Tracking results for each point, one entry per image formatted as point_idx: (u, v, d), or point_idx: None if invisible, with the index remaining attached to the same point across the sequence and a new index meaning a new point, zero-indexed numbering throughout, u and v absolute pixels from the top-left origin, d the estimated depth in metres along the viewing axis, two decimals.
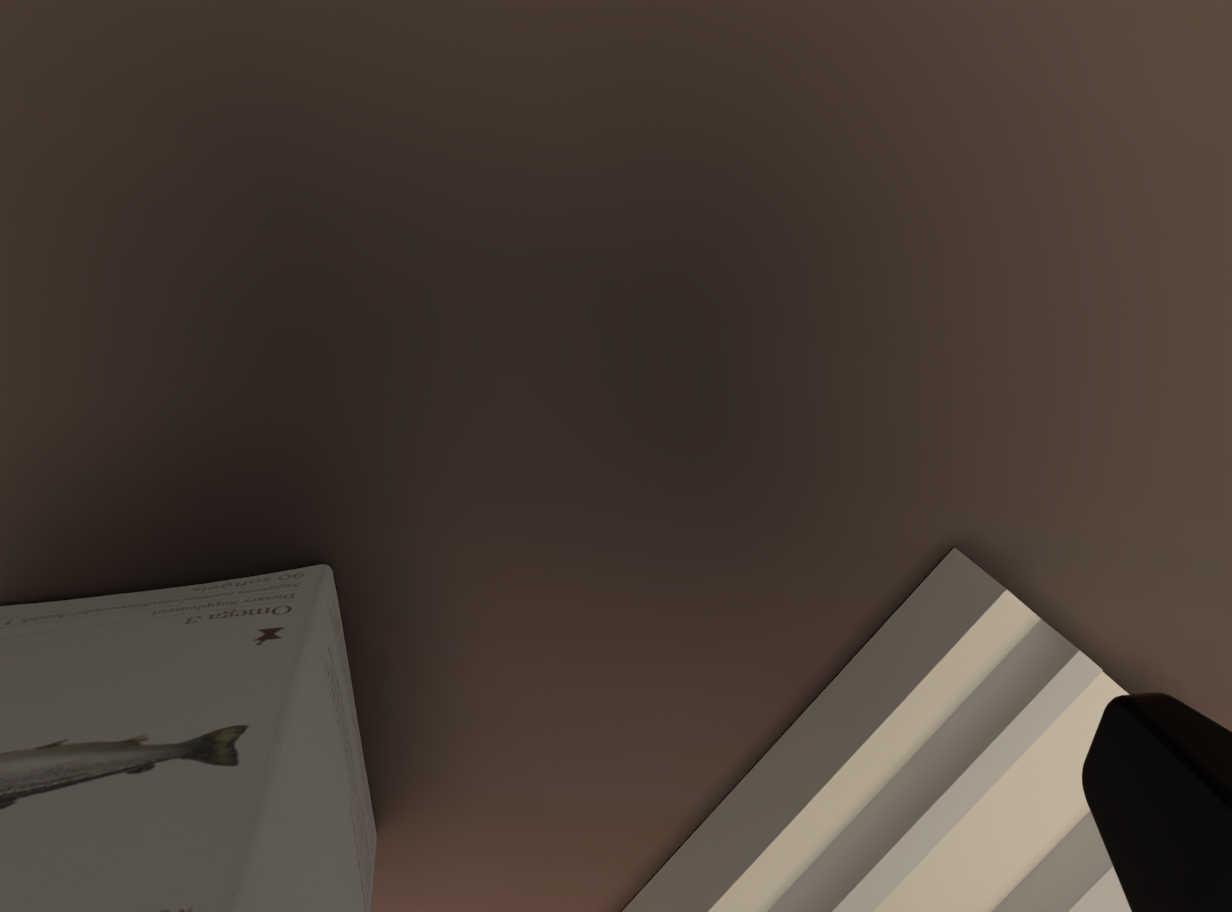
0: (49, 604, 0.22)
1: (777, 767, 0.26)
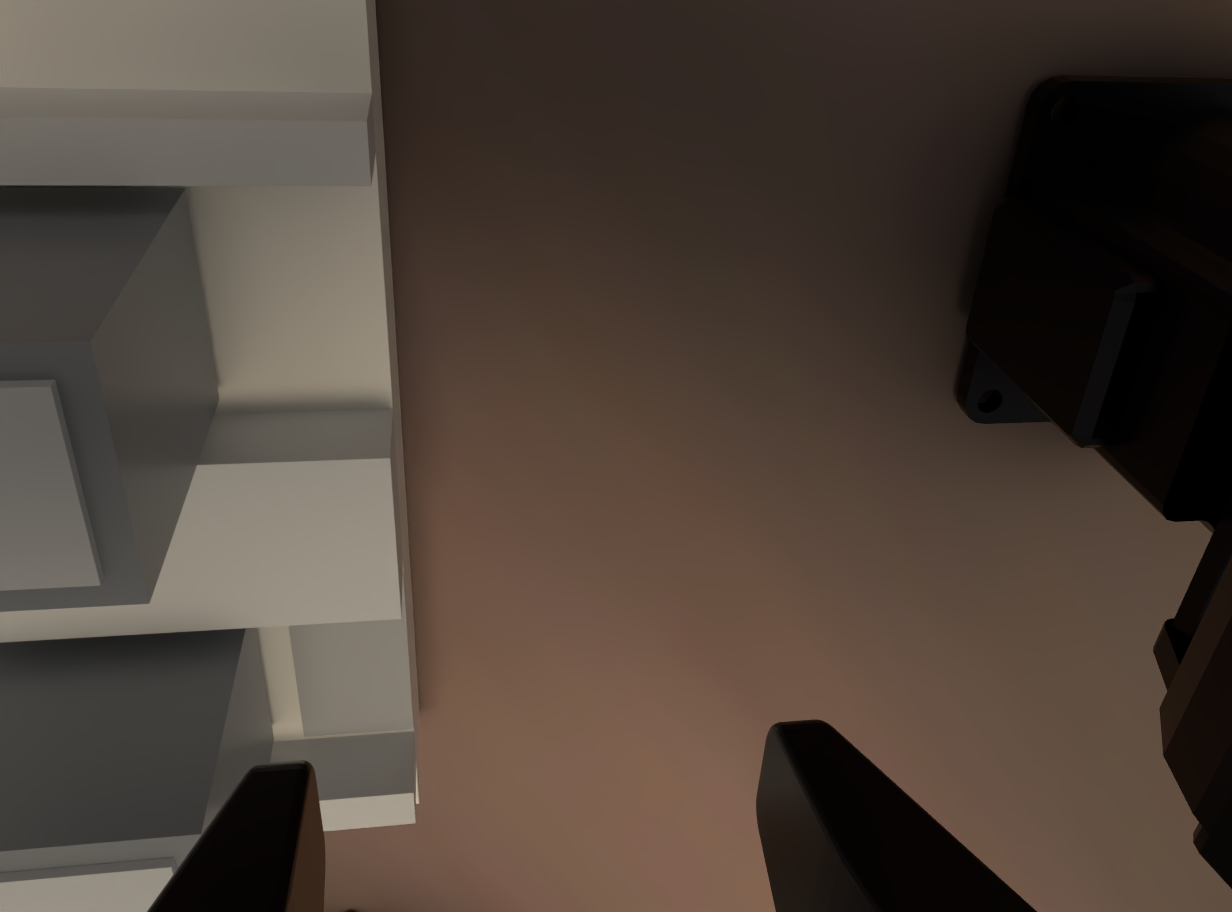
0: None
1: None
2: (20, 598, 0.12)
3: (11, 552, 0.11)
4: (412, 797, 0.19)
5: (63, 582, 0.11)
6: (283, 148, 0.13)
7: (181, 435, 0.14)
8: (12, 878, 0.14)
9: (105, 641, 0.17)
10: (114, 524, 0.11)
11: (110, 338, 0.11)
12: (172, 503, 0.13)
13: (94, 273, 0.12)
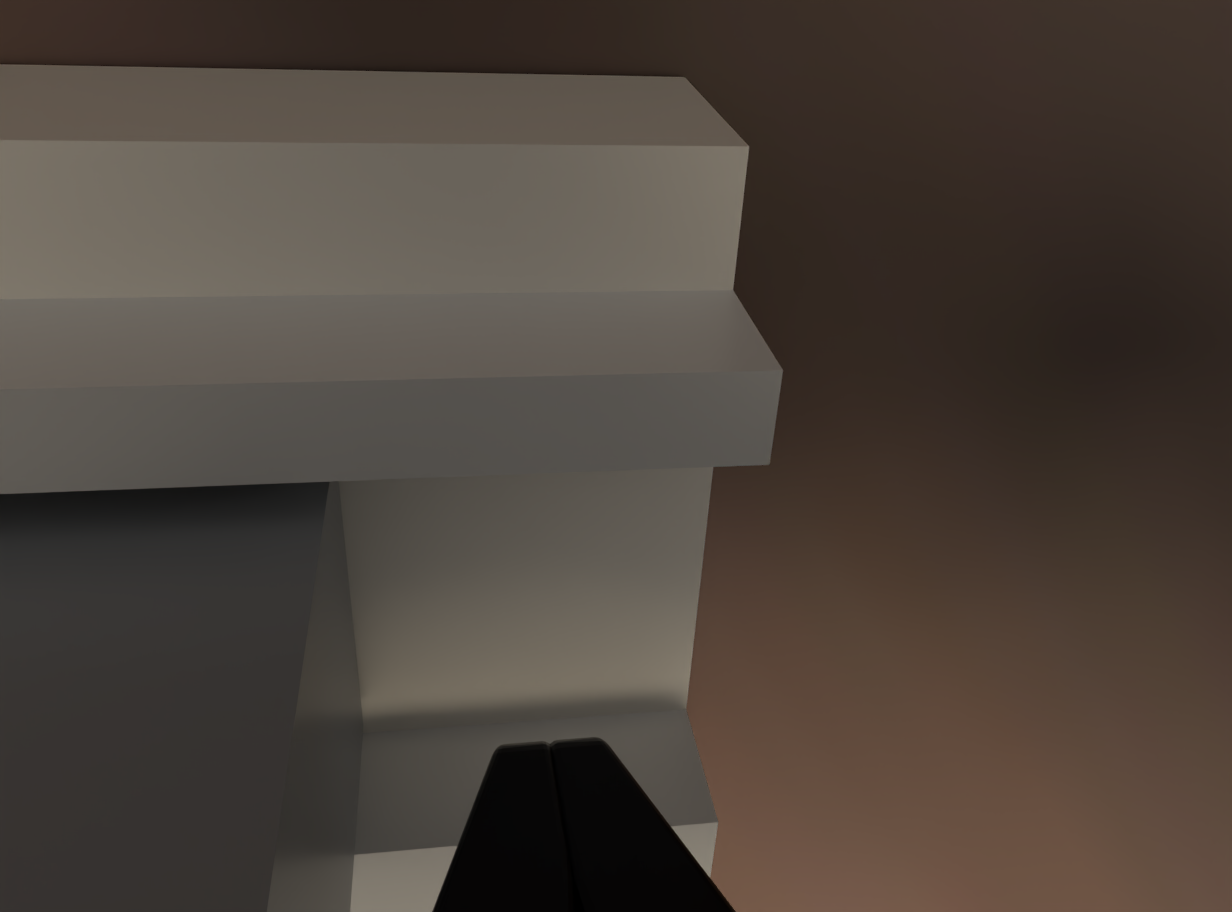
0: None
1: None
2: None
3: None
4: None
5: None
6: (641, 415, 0.08)
7: (339, 877, 0.08)
8: None
9: None
10: None
11: (276, 910, 0.05)
12: None
13: (226, 712, 0.06)
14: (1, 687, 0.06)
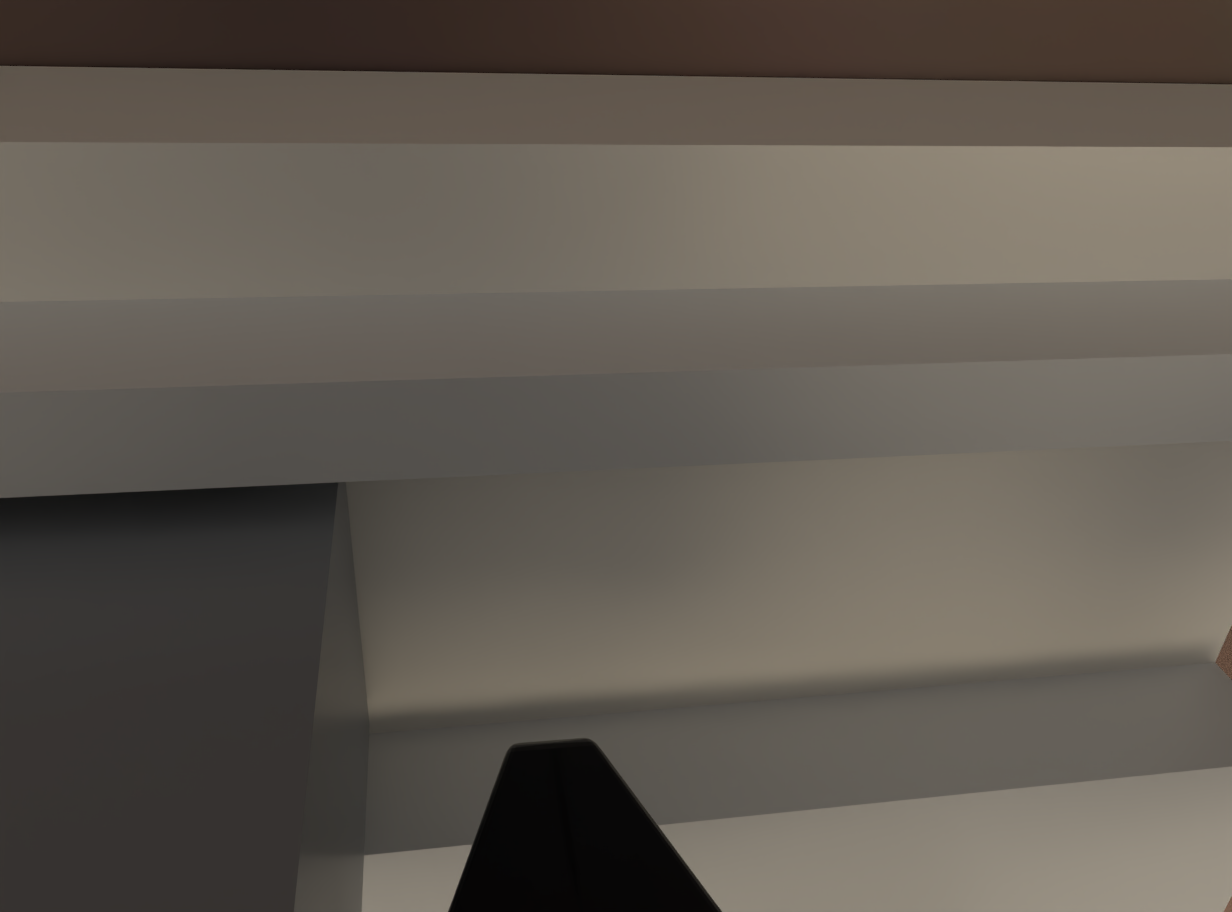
0: None
1: None
2: None
3: None
4: None
5: None
6: None
7: (352, 877, 0.08)
8: None
9: None
10: None
11: None
12: None
13: (246, 714, 0.06)
14: (17, 691, 0.06)
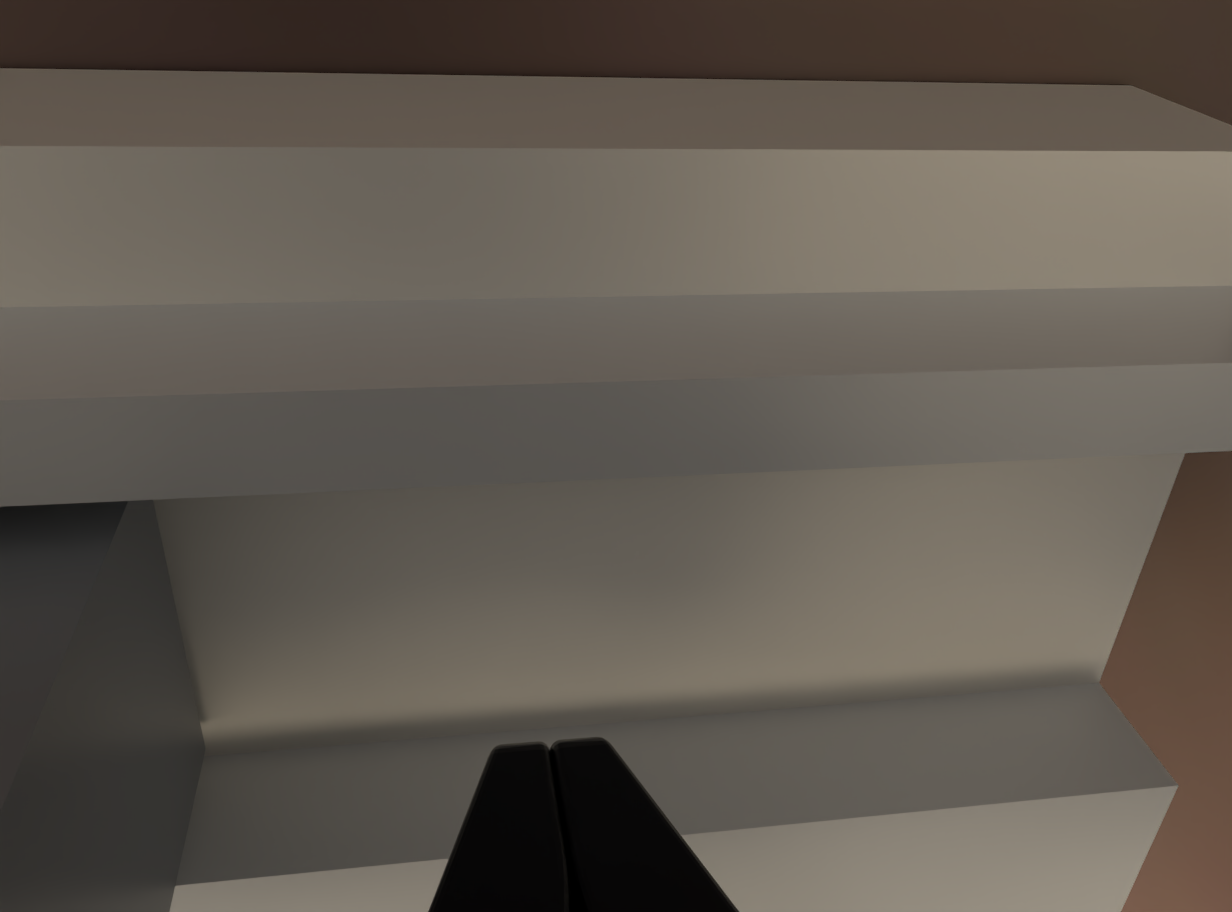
0: None
1: None
2: None
3: None
4: None
5: None
6: None
7: None
8: None
9: None
10: None
11: None
12: None
13: None
14: None
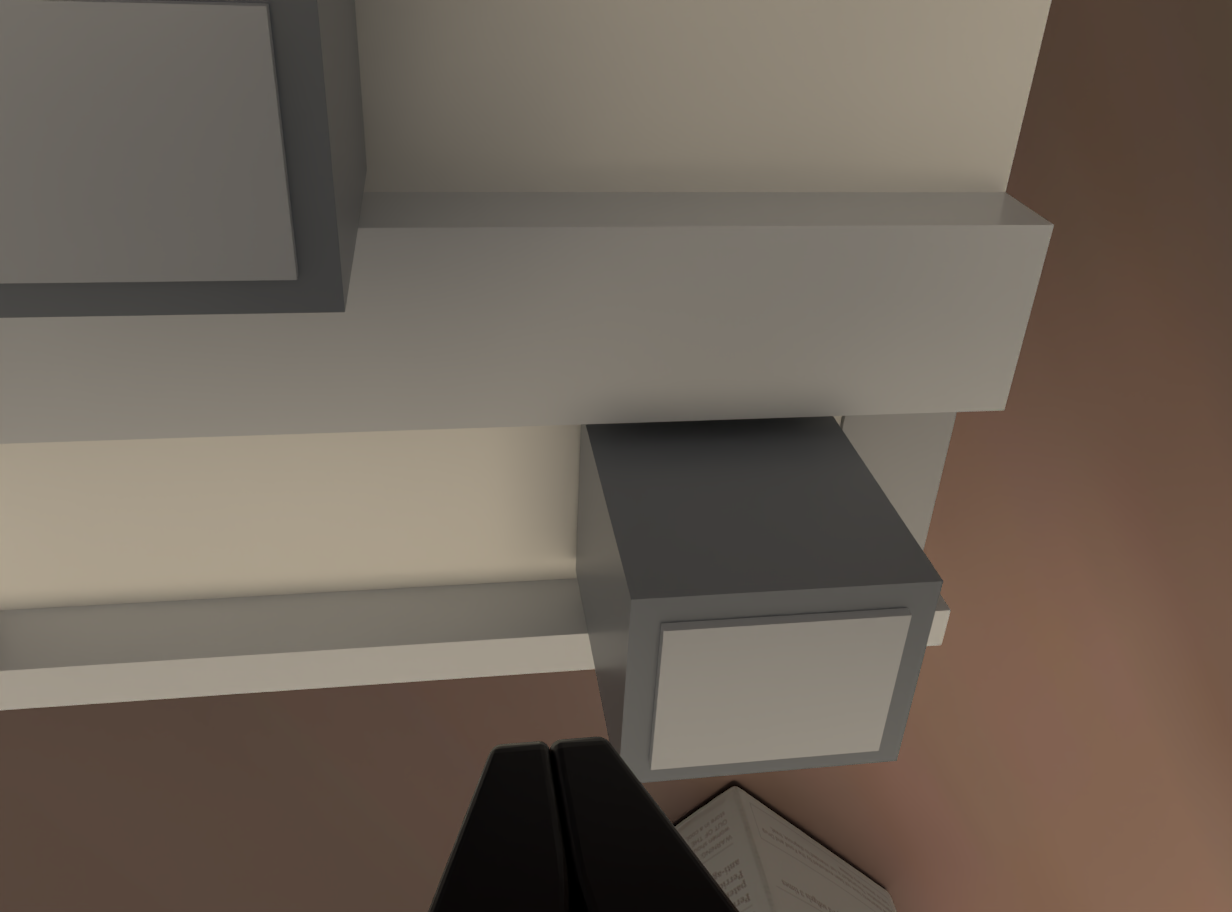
0: None
1: None
2: (204, 297, 0.10)
3: (202, 230, 0.10)
4: (947, 615, 0.19)
5: (252, 277, 0.10)
6: None
7: (352, 166, 0.12)
8: (763, 622, 0.13)
9: (710, 431, 0.17)
10: (317, 204, 0.10)
11: None
12: (351, 228, 0.12)
13: None
14: None
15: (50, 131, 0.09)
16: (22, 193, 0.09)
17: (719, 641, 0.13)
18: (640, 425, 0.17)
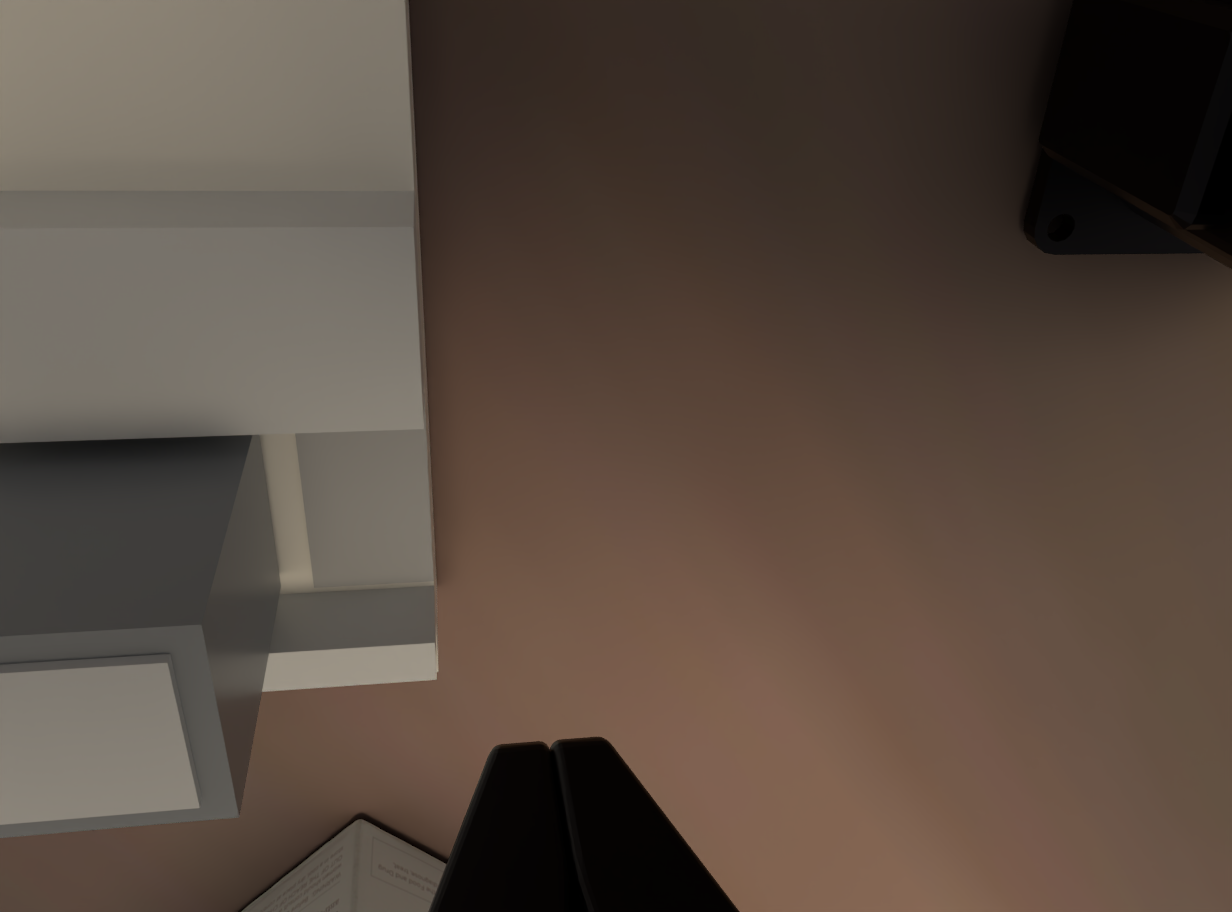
0: None
1: None
2: None
3: None
4: (433, 648, 0.17)
5: None
6: None
7: None
8: None
9: (94, 451, 0.15)
10: None
11: None
12: None
13: None
14: None
15: None
16: None
17: None
18: (21, 445, 0.15)
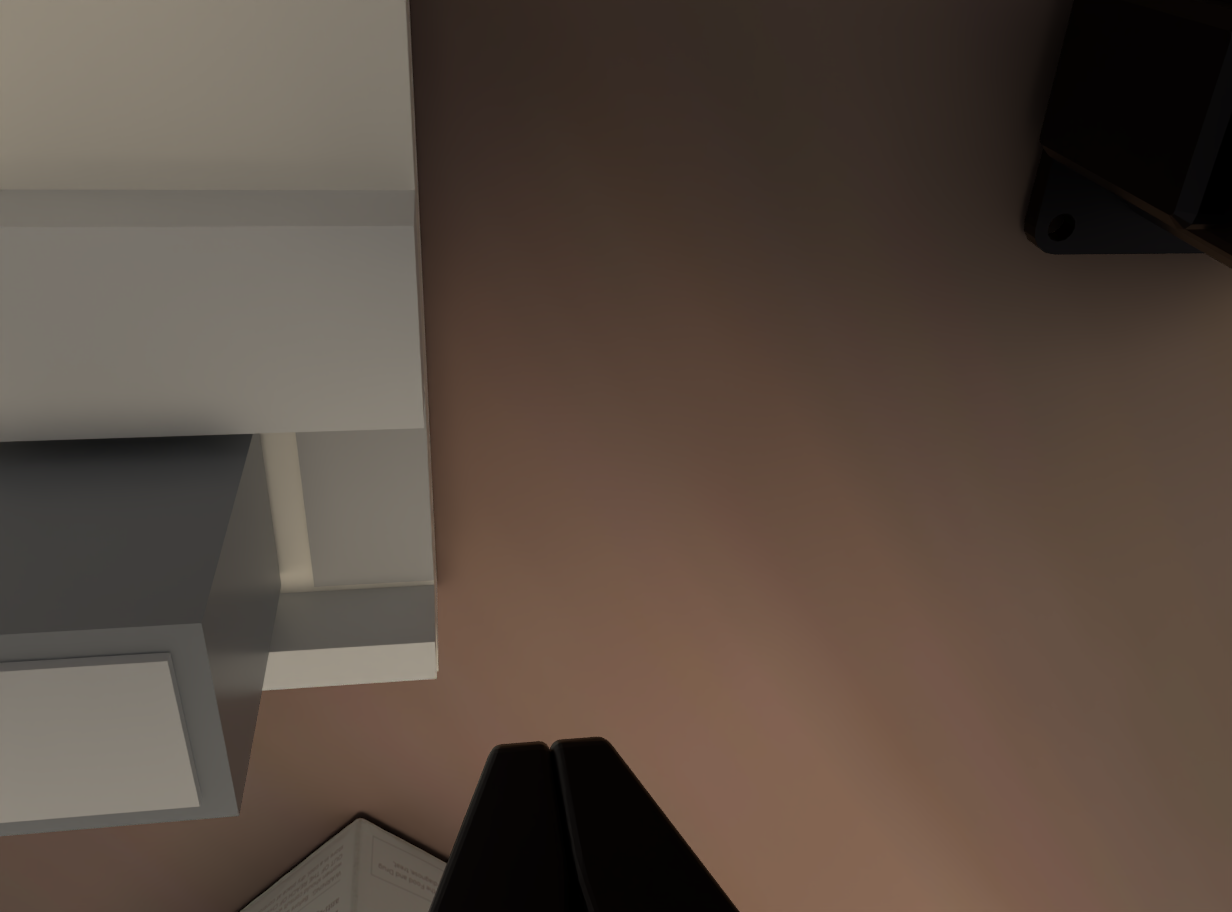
0: None
1: None
2: None
3: None
4: (433, 647, 0.17)
5: None
6: None
7: None
8: None
9: (95, 451, 0.15)
10: None
11: None
12: None
13: None
14: None
15: None
16: None
17: None
18: (22, 444, 0.15)
